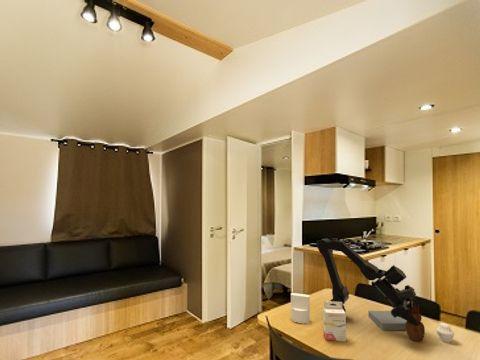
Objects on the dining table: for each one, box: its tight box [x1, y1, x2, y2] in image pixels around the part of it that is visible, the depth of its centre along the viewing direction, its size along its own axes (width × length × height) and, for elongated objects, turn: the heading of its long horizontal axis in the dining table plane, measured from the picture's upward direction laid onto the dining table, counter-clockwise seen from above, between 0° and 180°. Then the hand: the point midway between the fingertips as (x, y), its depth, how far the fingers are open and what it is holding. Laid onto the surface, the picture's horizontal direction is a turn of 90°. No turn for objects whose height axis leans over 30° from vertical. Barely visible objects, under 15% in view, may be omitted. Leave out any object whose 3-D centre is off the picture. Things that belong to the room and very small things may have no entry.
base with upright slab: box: [290, 292, 311, 324], centre depth 137 cm, size 9×9×12 cm
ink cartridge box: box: [322, 300, 347, 342], centre depth 119 cm, size 9×5×15 cm, turn 84°
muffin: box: [436, 322, 455, 343], centre depth 117 cm, size 6×6×7 cm
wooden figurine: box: [405, 302, 426, 342], centre depth 118 cm, size 7×6×15 cm
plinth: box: [367, 310, 407, 331], centre depth 133 cm, size 14×14×3 cm
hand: (418, 323), depth 117 cm, fingers closed on wooden figurine, 5 cm apart
